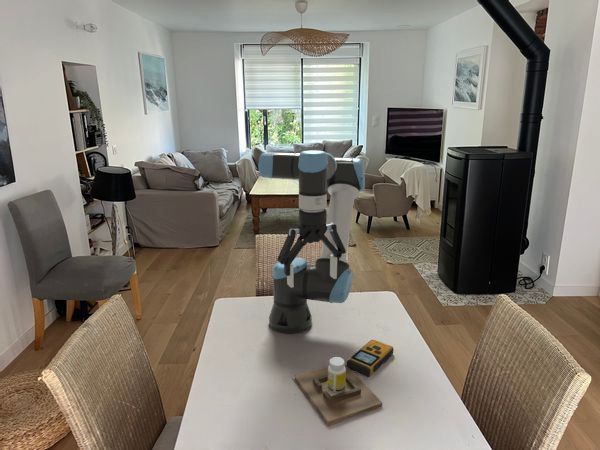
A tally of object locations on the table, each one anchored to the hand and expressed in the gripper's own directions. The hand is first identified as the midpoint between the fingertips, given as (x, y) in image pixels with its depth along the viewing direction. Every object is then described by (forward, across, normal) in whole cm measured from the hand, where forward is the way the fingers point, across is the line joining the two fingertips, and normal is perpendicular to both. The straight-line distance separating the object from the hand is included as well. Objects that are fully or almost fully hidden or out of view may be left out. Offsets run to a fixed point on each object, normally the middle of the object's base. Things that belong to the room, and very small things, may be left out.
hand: (312, 281), depth 125 cm
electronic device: (+27, +17, -6) cm, 33 cm away
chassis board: (+27, 0, -15) cm, 31 cm away
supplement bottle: (+26, 0, -15) cm, 30 cm away
